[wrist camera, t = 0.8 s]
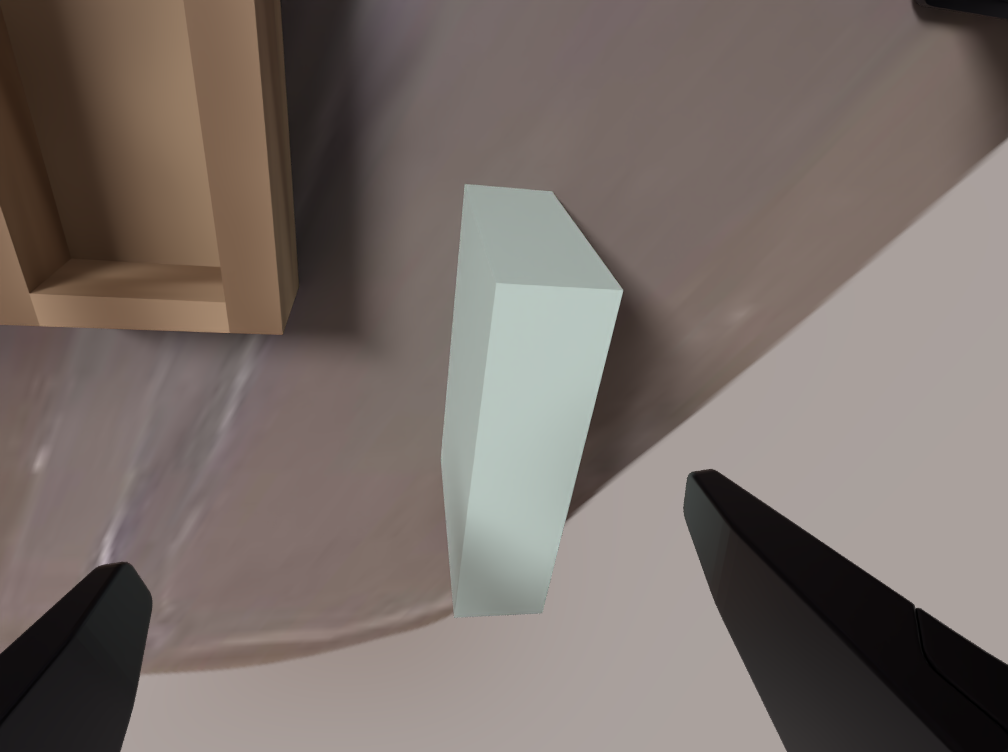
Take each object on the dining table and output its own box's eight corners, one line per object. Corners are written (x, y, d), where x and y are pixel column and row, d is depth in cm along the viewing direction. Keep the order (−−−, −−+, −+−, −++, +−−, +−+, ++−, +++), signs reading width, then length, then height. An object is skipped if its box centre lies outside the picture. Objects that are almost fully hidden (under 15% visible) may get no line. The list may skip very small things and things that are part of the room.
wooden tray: (252, -422, 12) (207, -545, 9) (299, 286, 21) (282, 334, 18) (-213, -543, 11) (-435, -733, 8) (41, 272, 19) (-22, 323, 16)
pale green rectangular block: (551, 191, 20) (623, 290, 14) (507, 458, 27) (542, 613, 20) (464, 183, 20) (495, 283, 13) (440, 458, 26) (454, 617, 20)
